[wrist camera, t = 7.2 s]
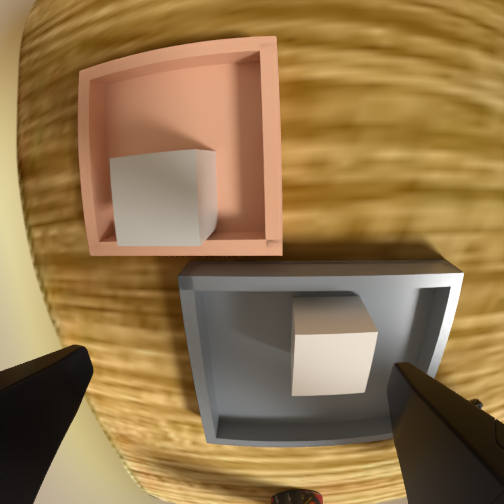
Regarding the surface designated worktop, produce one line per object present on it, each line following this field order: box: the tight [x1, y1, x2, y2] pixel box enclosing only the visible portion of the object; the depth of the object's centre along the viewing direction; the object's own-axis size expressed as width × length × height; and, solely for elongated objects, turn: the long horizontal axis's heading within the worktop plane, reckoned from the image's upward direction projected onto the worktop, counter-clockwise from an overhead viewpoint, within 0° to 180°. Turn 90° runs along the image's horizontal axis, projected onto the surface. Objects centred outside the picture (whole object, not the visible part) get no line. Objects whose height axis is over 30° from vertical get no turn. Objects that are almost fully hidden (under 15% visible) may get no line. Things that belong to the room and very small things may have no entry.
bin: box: [178, 259, 464, 447], centre depth 18 cm, size 16×14×2 cm
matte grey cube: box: [110, 149, 218, 246], centre depth 14 cm, size 4×4×4 cm
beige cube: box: [290, 296, 378, 396], centre depth 16 cm, size 4×4×4 cm
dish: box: [78, 36, 282, 256], centre depth 15 cm, size 11×11×2 cm
